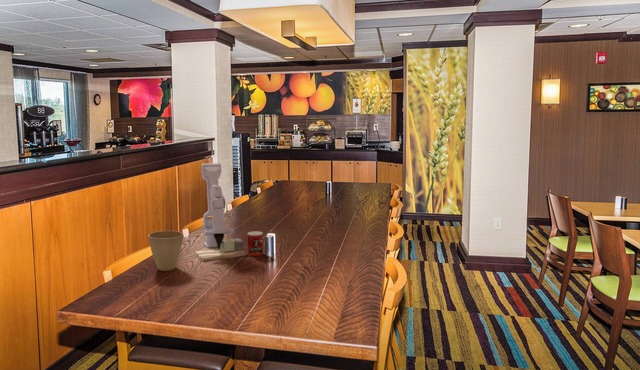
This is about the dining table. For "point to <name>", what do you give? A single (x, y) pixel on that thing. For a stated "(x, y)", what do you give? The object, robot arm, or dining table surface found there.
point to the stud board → (221, 252)
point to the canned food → (255, 243)
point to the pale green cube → (227, 245)
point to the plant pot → (166, 248)
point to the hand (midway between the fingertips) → (219, 248)
